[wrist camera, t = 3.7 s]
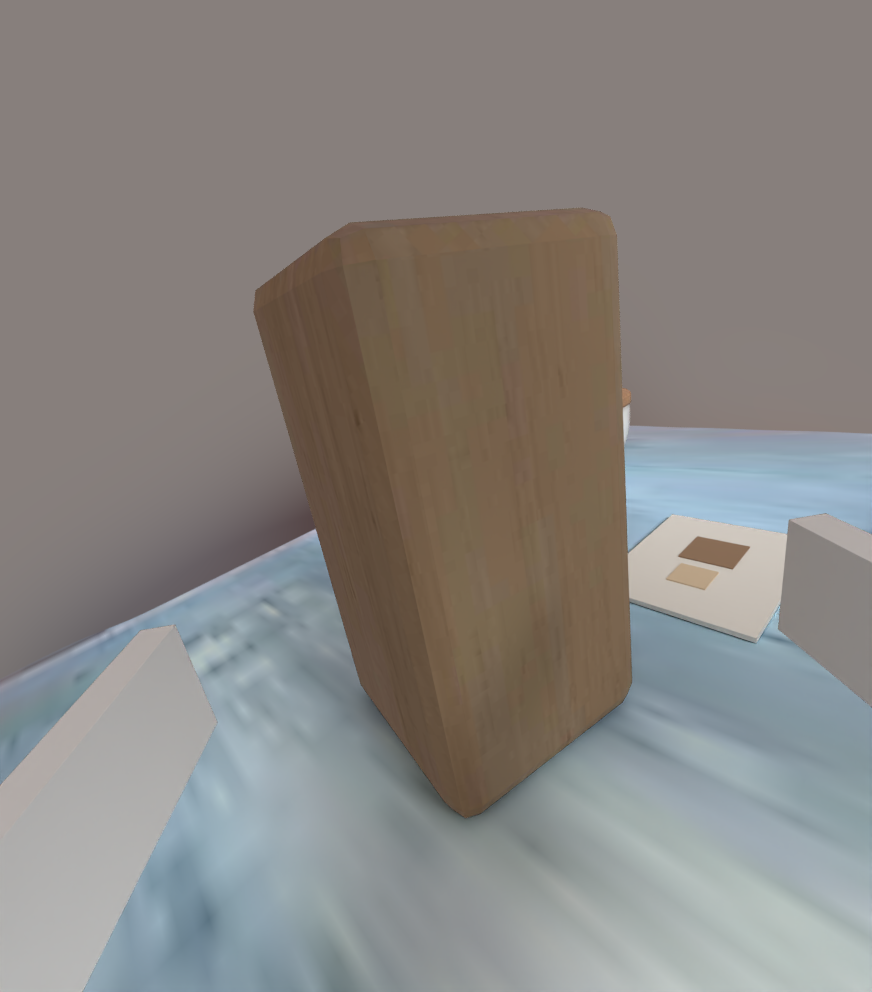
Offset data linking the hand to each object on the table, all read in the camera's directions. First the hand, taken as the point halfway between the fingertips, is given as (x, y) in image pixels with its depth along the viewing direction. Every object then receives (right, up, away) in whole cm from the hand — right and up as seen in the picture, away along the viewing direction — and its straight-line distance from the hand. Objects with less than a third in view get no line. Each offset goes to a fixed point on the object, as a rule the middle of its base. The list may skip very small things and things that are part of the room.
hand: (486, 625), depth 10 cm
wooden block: (+2, -7, +13) cm, 15 cm away
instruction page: (+16, -2, +20) cm, 26 cm away
